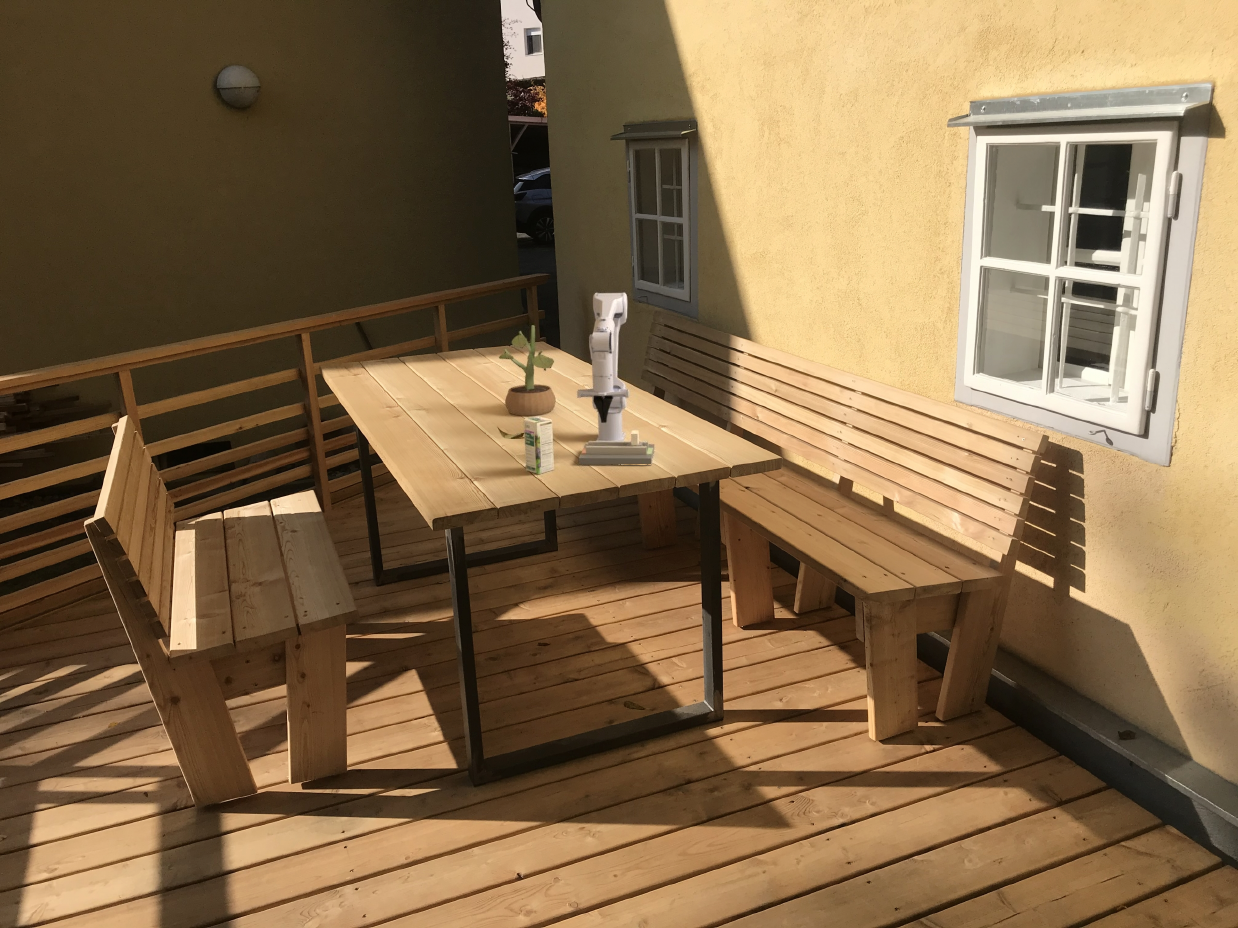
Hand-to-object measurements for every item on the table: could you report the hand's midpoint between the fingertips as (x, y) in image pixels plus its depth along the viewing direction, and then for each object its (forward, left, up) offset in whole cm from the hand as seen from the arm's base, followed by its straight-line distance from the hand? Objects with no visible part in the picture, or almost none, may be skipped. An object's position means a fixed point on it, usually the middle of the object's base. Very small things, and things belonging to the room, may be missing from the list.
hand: (604, 421), depth 279 cm
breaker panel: (+4, +4, -9) cm, 11 cm away
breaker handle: (+4, +9, -7) cm, 12 cm away
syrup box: (+16, -16, -10) cm, 25 cm away
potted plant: (-47, -30, -10) cm, 57 cm away
